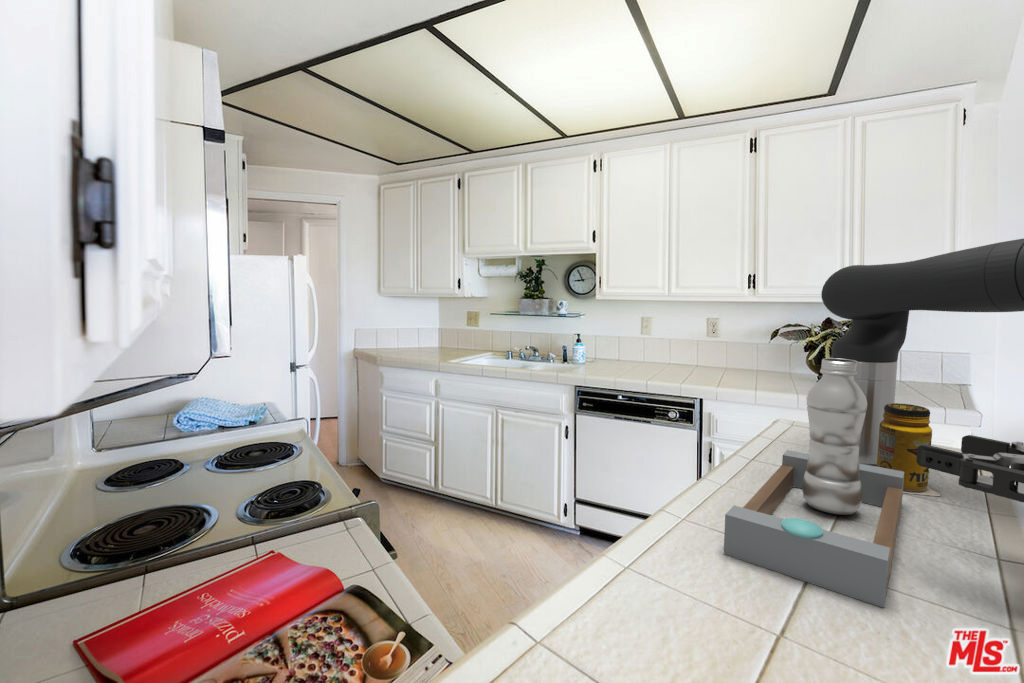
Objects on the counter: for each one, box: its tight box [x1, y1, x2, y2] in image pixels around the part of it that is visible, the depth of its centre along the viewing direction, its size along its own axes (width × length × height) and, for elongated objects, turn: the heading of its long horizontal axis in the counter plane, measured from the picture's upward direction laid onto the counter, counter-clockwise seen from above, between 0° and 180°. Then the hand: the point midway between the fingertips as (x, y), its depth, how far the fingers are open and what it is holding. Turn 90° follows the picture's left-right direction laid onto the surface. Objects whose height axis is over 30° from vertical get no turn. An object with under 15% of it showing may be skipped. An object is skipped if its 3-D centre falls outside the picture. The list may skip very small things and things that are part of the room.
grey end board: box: [723, 505, 890, 609], centre depth 49 cm, size 14×4×5 cm, turn 48°
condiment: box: [876, 402, 941, 497], centre depth 71 cm, size 7×8×12 cm
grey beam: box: [781, 449, 904, 508], centre depth 68 cm, size 14×4×5 cm, turn 48°
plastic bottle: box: [802, 357, 867, 516], centre depth 62 cm, size 6×7×20 cm
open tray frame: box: [742, 464, 903, 589], centre depth 59 cm, size 14×23×3 cm, turn 138°
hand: (941, 448), depth 52 cm, fingers open, 8 cm apart
